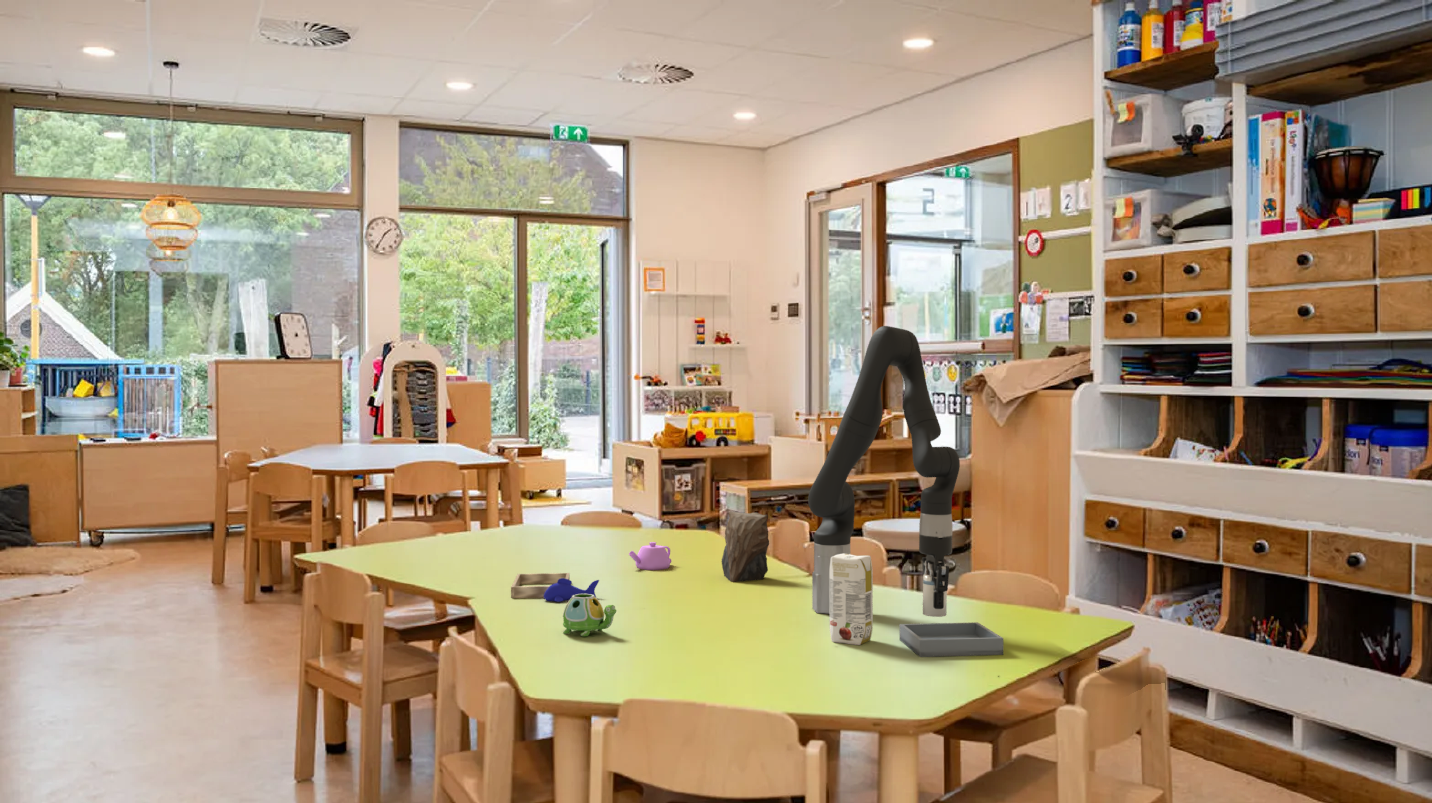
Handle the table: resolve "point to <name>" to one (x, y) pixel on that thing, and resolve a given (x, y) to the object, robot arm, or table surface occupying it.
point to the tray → (951, 639)
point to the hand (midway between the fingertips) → (934, 605)
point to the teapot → (652, 557)
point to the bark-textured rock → (745, 547)
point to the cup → (931, 599)
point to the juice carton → (851, 599)
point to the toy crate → (534, 579)
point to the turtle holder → (586, 614)
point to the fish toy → (566, 590)
